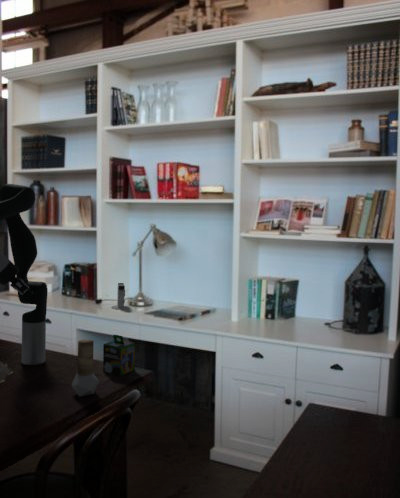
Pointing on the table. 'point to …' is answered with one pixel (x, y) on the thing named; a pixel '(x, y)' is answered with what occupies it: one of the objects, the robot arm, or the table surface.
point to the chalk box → (118, 356)
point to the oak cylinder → (85, 357)
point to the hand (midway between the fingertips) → (36, 300)
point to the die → (85, 384)
